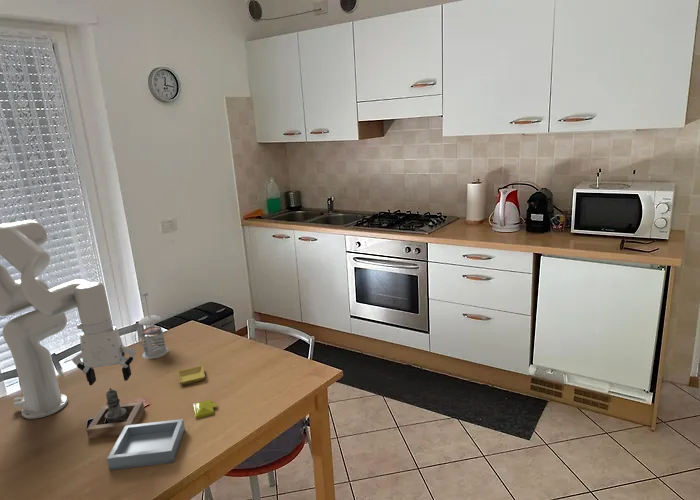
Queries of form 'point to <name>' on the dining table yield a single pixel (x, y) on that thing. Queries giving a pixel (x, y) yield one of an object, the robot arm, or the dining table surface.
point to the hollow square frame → (114, 429)
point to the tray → (146, 444)
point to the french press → (152, 337)
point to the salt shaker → (114, 408)
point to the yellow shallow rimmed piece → (191, 375)
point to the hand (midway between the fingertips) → (110, 380)
